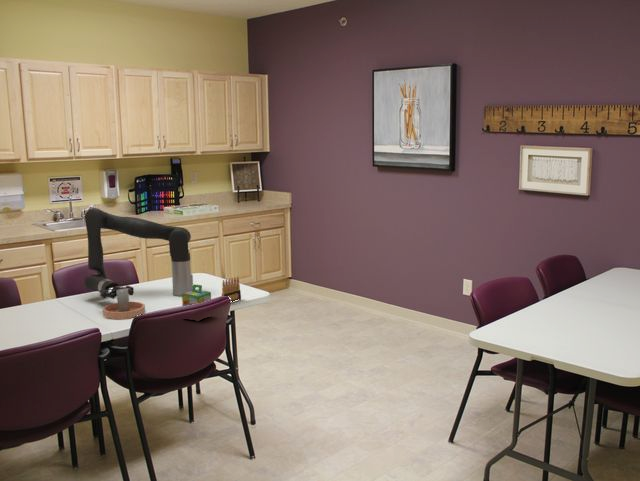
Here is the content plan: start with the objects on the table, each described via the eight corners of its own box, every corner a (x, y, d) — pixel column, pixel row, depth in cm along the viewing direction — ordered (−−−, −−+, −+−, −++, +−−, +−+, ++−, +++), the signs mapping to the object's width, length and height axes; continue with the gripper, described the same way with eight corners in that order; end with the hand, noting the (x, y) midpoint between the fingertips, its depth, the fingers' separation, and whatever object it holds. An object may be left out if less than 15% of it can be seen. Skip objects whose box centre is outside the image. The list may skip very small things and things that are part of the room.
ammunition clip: (224, 305, 292) (223, 280, 290) (221, 304, 293) (220, 279, 291) (241, 300, 300) (240, 276, 298) (238, 299, 301) (237, 275, 299)
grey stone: (127, 309, 284) (125, 288, 282) (131, 311, 280) (129, 290, 278) (116, 311, 281) (114, 290, 279) (120, 313, 277) (118, 292, 275)
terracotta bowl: (134, 305, 292) (134, 299, 292) (151, 313, 279) (151, 307, 278) (97, 312, 281) (97, 306, 281) (113, 321, 268) (112, 315, 267)
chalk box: (182, 319, 270) (180, 286, 267) (195, 314, 278) (194, 281, 275) (199, 322, 266) (197, 288, 263) (212, 316, 274) (211, 284, 271)
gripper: (93, 282, 286) (107, 289, 274) (123, 277, 295) (137, 284, 283) (94, 298, 287) (108, 305, 275) (124, 293, 296) (138, 300, 284)
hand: (123, 294), depth 279 cm, fingers open, 8 cm apart
